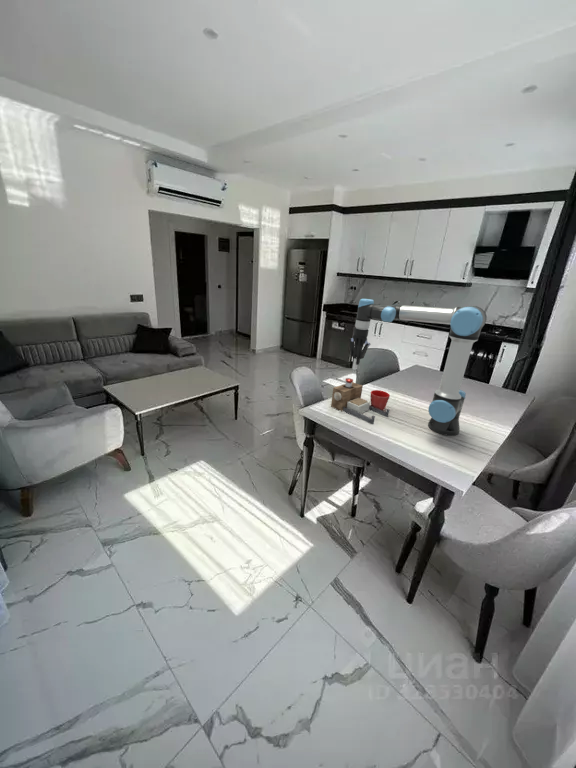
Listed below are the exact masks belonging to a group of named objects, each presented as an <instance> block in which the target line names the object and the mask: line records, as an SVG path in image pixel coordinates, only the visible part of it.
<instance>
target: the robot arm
mask: <svg viewBox="0 0 576 768" xmlns="http://www.w3.org/2000/svg"><path fill="white" fill-rule="evenodd" d="M374 301H375V300H374V299H370V298H361V299H359V302H358V306H357V313H356V320H355V324H354V326H355V328H354V330H353V336H352V338H348V341H349V349H350V350H349V354H350V357H352V368H351V370H353V371H356V370H358V367H359V365H360V362H361V361H360V360H362V359H364V358H365V355H366V353H367V351H368V349H369V347H370V346H371V343H370V342H368V336H369V331H370V330H369V329H370V325H371V320H376V321H382V322H385V323H391V322H393V321H394V320H399V321H400V320H401V321H411V322H412V321H413V322H420V323H431V324H441V325H442V324H443V325H450V331H449V335H448V337H449V338H450V339H451V342H450V345H449V349H448V353H447V357H446V360H445V365H444V369H443V373H442V376H441V380H440V384H439V388H437V389H436V390H434V393H433V397H432V401H431V402H430V403H429V404H428V414H429V416H430V419H428V420H429V421H428V423H427V427H428V428H429V429H430V430H431V431H432V432H435V433H437V434H440V435H443V436H449V437H451V436H458V435H459V432H460V416H461V412H462V409H463V406H464V402H465V399H466V391H464V390H462V389H461V387H462V383H463V380H464V377H465V376H464V375H465V373H466V370H467V365H468V362H469V358H470V356H471V351H472V348H473V345H474V343H475V342H478V341H479V337H480V335H481V331H482V329H483V327H484V326H485V324H486V322H487V320H488V319H487V318H488V317H487V313H486V311H485V310H484V309H483V308H481V307H479V306H477V305H473V306H472V305H471V306H456V307H454V308H448V307H446V308H445V307H435V306H434V307H433V306H431V307H430V306H419V305H404V304H403V305H401V304H389V305H388V304H387V305H380V304H376V303H374Z"/></svg>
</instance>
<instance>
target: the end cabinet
mask: <svg viewBox="0 0 576 768" xmlns="http://www.w3.org/2000/svg"><path fill="white" fill-rule="evenodd" d="M345 385H346V383H344V384H340V385H338V386H334V387H333V388H332V396H331V403H330V407H332V408H333V409H335V410H338V411H339V412H344V411H343V407H347V402H349V401H351V400H354V399H357V398H361V399H362V393H363V387H364V386H363V385H362V384H358V383H356V382H354V381H353V382H352V387H351V388H350V389H348V388H346V387H345Z"/></svg>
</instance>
